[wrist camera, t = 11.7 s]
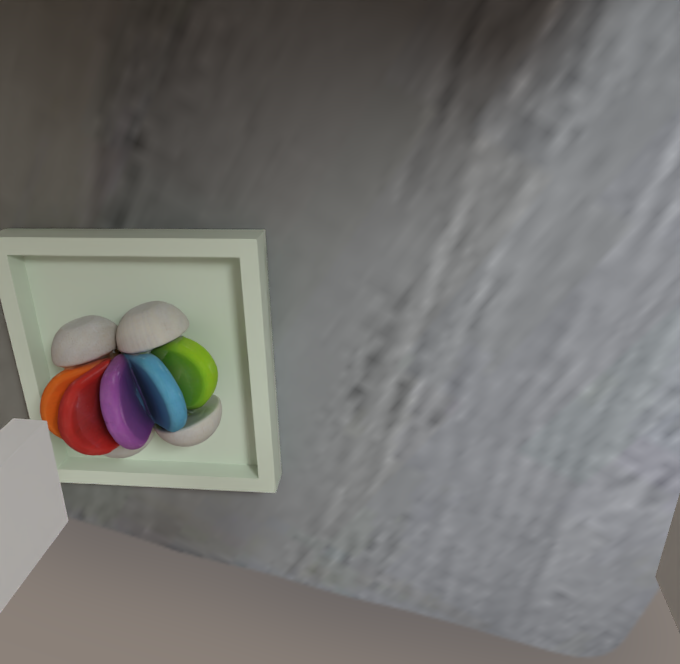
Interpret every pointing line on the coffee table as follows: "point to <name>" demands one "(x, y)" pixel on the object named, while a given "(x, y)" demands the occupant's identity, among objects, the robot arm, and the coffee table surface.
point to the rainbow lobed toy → (130, 383)
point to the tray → (204, 328)
